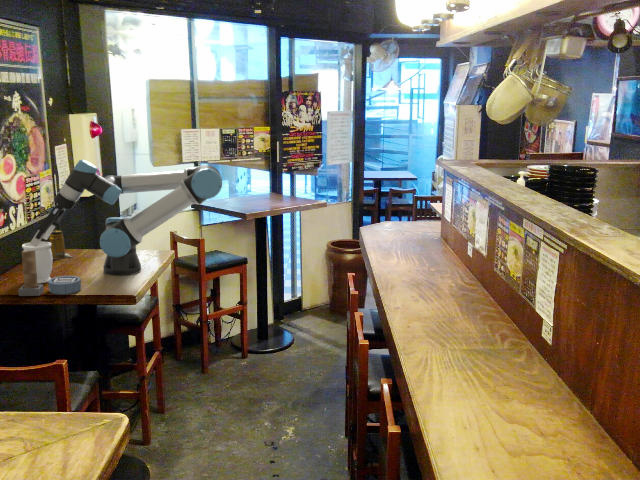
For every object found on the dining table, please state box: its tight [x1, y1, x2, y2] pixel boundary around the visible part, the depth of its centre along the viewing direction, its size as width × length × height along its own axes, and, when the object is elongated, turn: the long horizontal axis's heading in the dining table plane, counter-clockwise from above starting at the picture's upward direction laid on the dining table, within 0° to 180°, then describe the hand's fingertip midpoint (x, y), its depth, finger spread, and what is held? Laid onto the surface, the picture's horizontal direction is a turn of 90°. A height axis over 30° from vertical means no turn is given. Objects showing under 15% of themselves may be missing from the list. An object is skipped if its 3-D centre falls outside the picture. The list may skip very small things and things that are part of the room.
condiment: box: [49, 229, 73, 260], centre depth 273 cm, size 7×8×12 cm
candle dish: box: [47, 275, 82, 296], centre depth 227 cm, size 11×11×4 cm
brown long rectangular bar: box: [21, 250, 39, 288], centre depth 221 cm, size 4×2×16 cm, turn 99°
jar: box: [21, 240, 54, 285], centre depth 236 cm, size 11×10×15 cm
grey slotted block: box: [18, 284, 45, 297], centre depth 222 cm, size 7×6×2 cm
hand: (38, 241), depth 234 cm, fingers open, 13 cm apart
